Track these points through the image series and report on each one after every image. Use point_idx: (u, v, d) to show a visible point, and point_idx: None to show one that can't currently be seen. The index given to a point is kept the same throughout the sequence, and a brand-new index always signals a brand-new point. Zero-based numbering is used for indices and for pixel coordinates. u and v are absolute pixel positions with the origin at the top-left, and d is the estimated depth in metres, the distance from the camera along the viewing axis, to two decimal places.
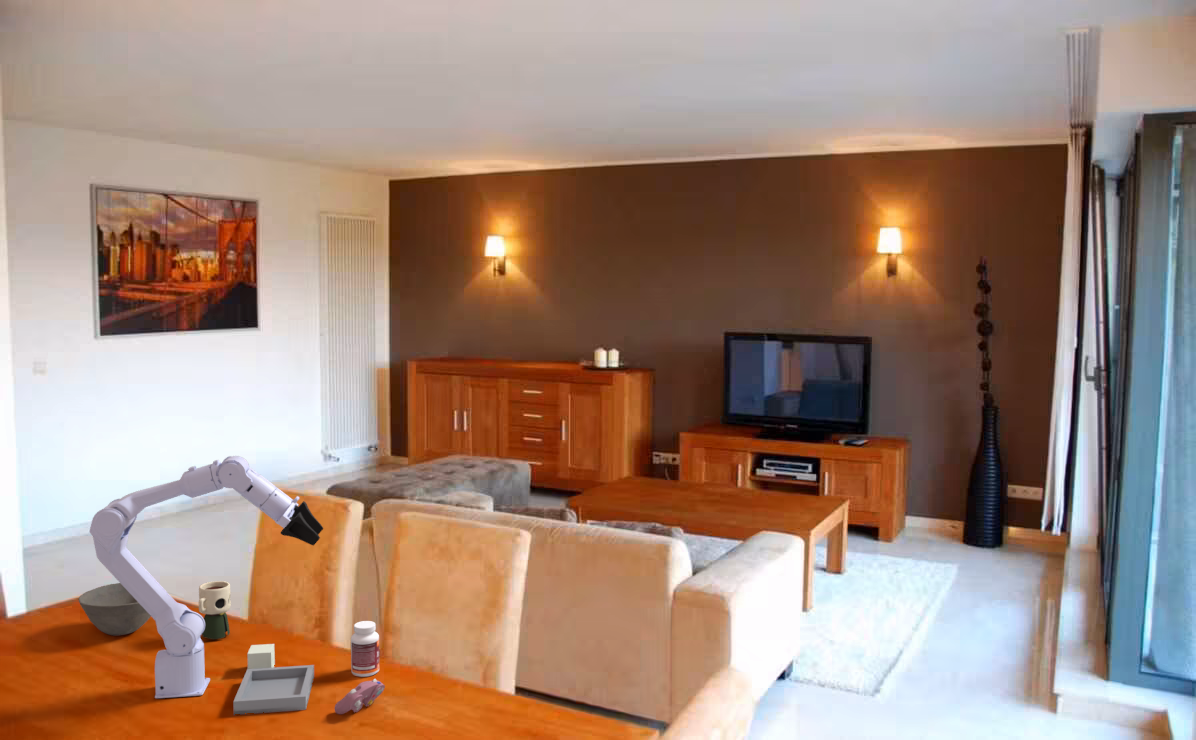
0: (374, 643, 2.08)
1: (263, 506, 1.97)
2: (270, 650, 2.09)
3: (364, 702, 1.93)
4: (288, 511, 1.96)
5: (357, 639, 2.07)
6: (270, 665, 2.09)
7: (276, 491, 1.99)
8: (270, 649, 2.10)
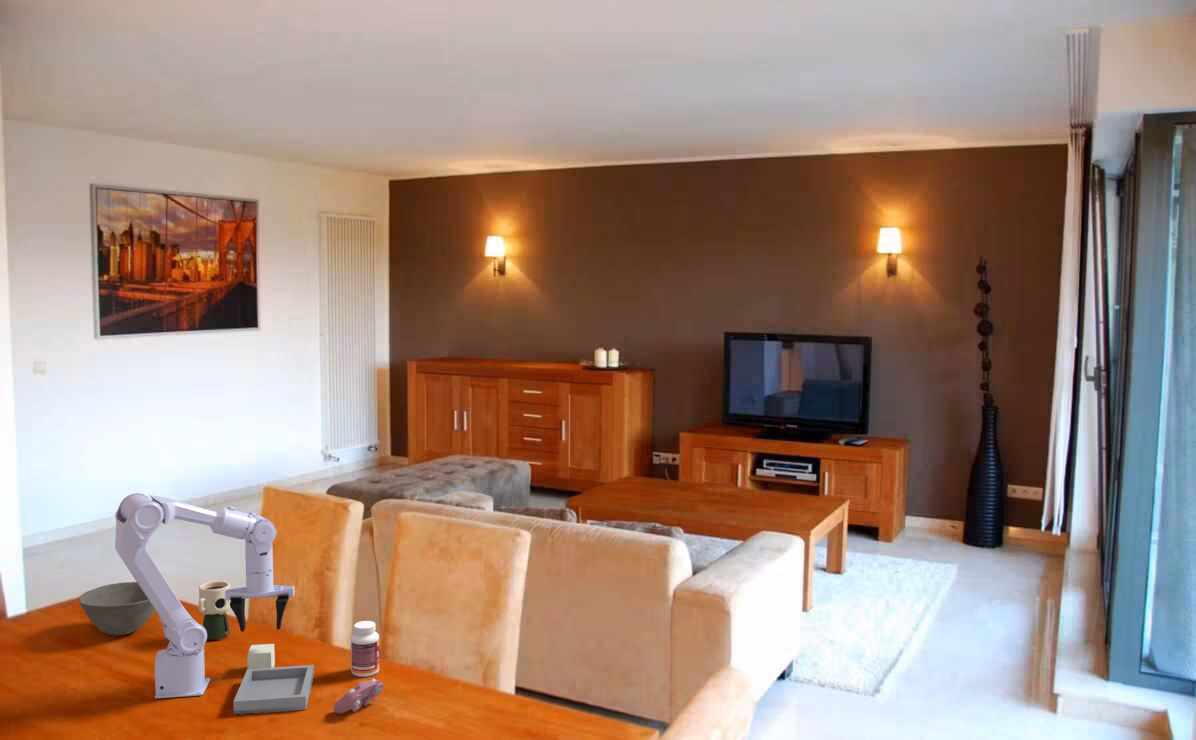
0: (374, 643, 2.08)
1: (270, 572, 2.08)
2: (270, 650, 2.09)
3: (363, 702, 1.93)
4: None
5: (357, 639, 2.07)
6: (270, 665, 2.09)
7: None
8: (270, 649, 2.10)
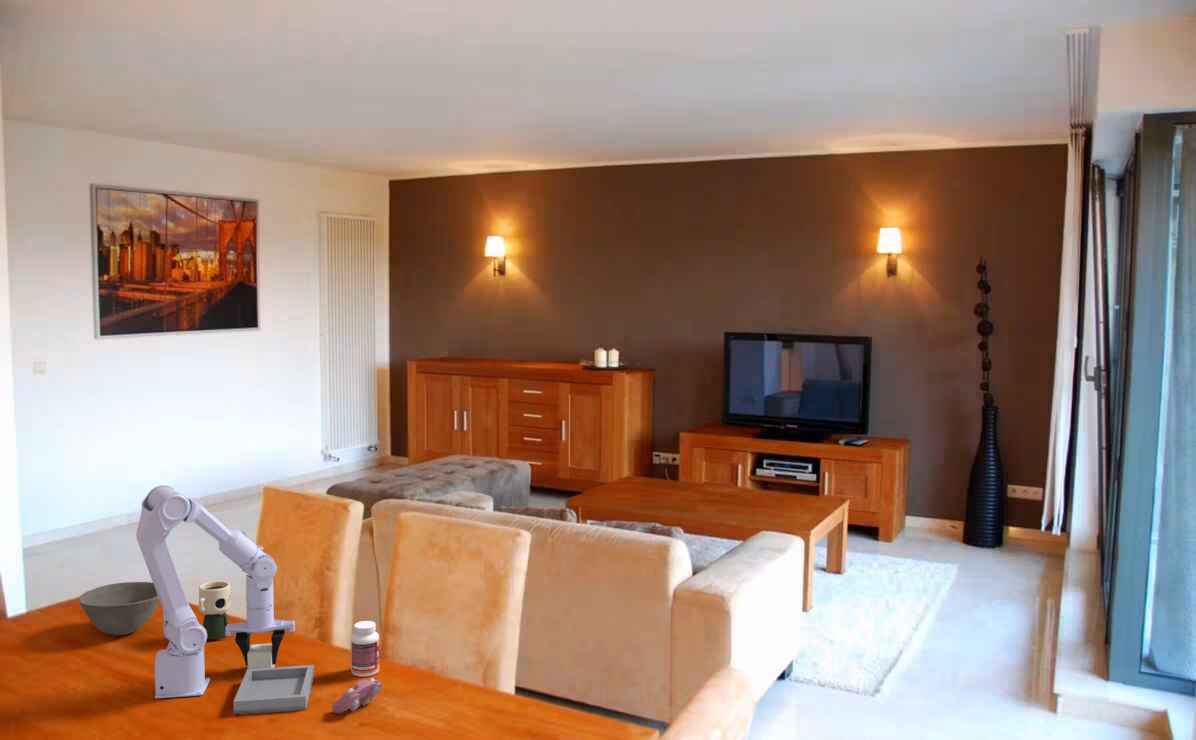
0: (374, 643, 2.08)
1: (271, 607, 2.09)
2: (270, 650, 2.09)
3: (362, 701, 1.93)
4: None
5: (357, 639, 2.07)
6: (270, 665, 2.09)
7: None
8: (270, 649, 2.10)
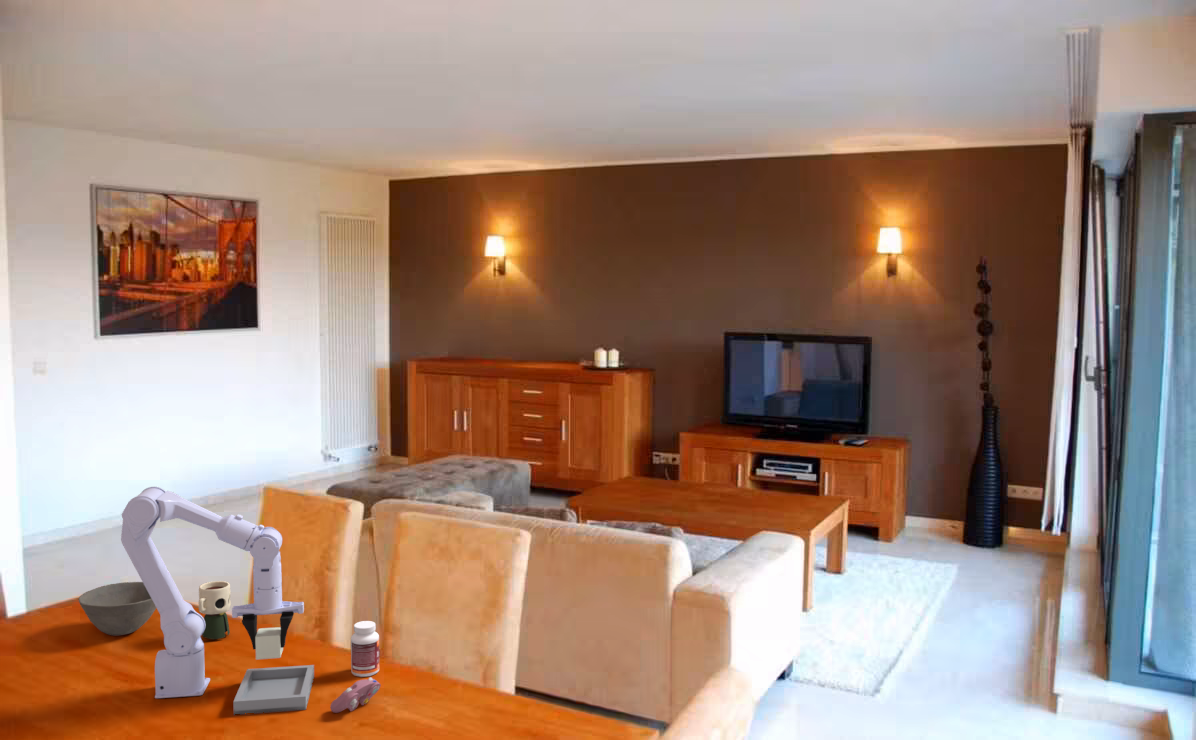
0: (374, 643, 2.08)
1: (279, 588, 2.01)
2: (279, 633, 2.02)
3: (360, 701, 1.93)
4: None
5: (357, 639, 2.07)
6: (279, 648, 2.01)
7: None
8: (279, 632, 2.02)
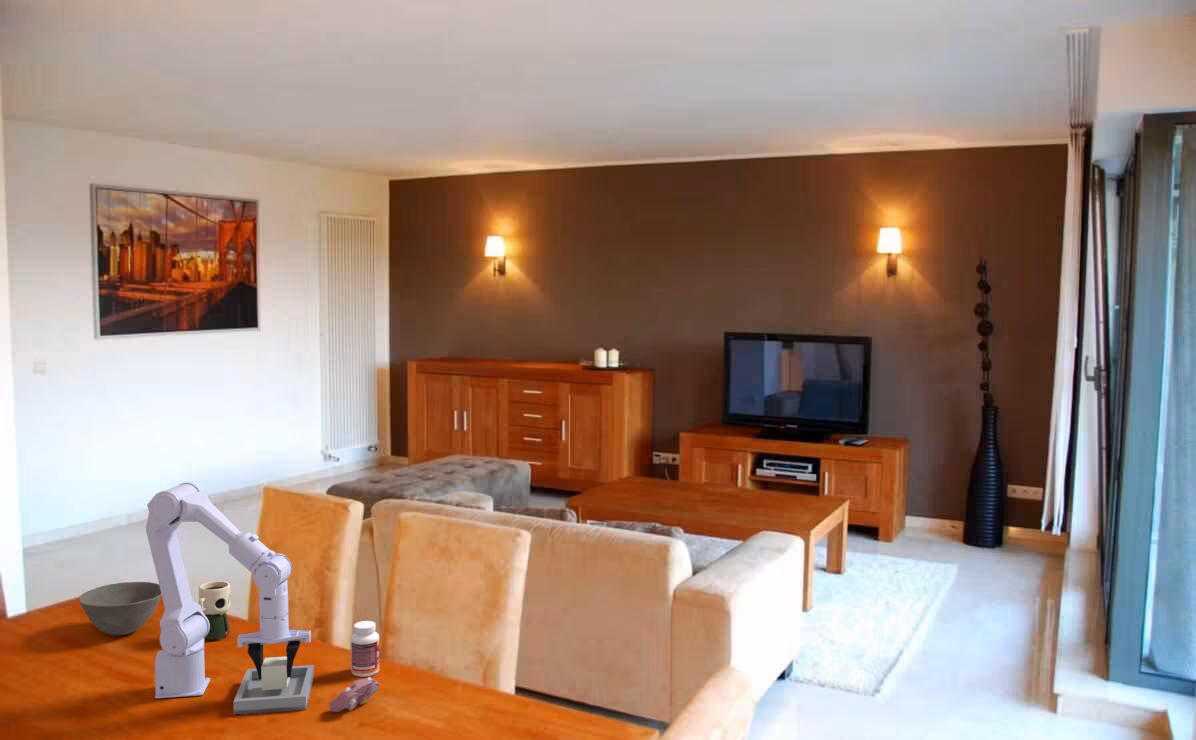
0: (374, 643, 2.08)
1: (285, 617, 1.96)
2: (285, 663, 1.97)
3: (359, 700, 1.94)
4: None
5: (357, 639, 2.07)
6: (285, 679, 1.96)
7: None
8: (285, 662, 1.98)
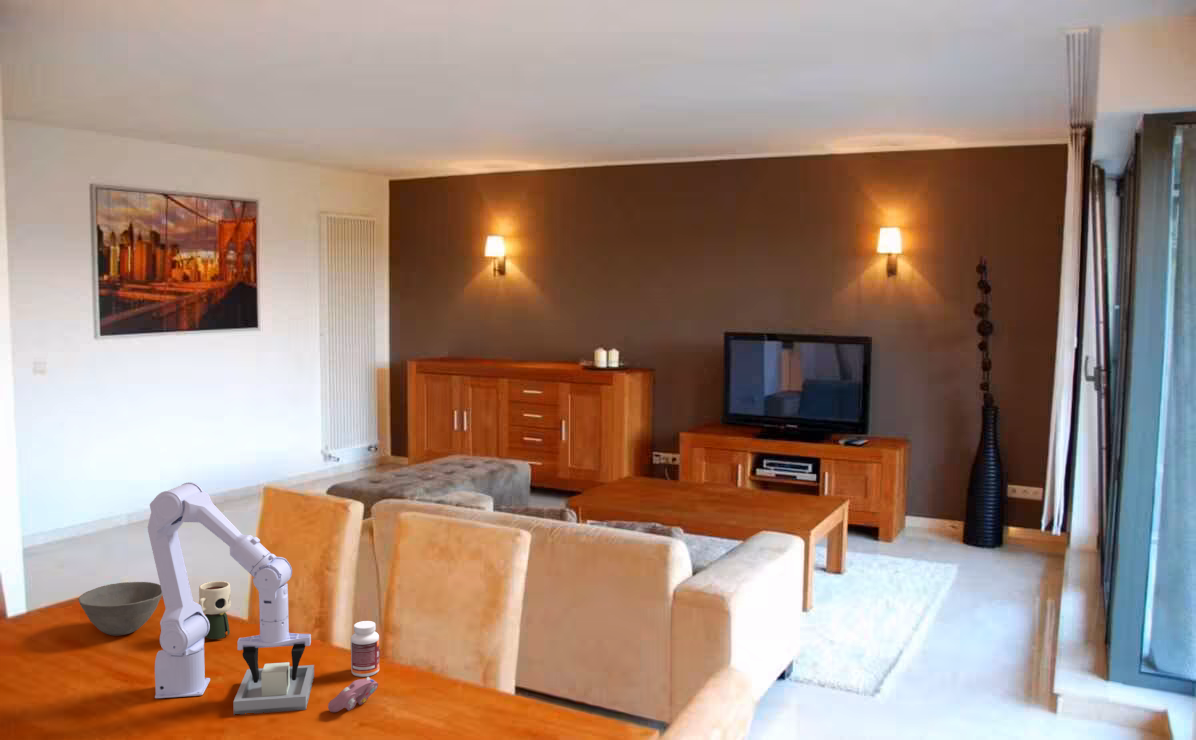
0: (374, 643, 2.08)
1: (285, 620, 1.96)
2: (285, 669, 1.97)
3: (357, 700, 1.94)
4: None
5: (357, 639, 2.07)
6: (285, 685, 1.96)
7: None
8: (285, 668, 1.98)
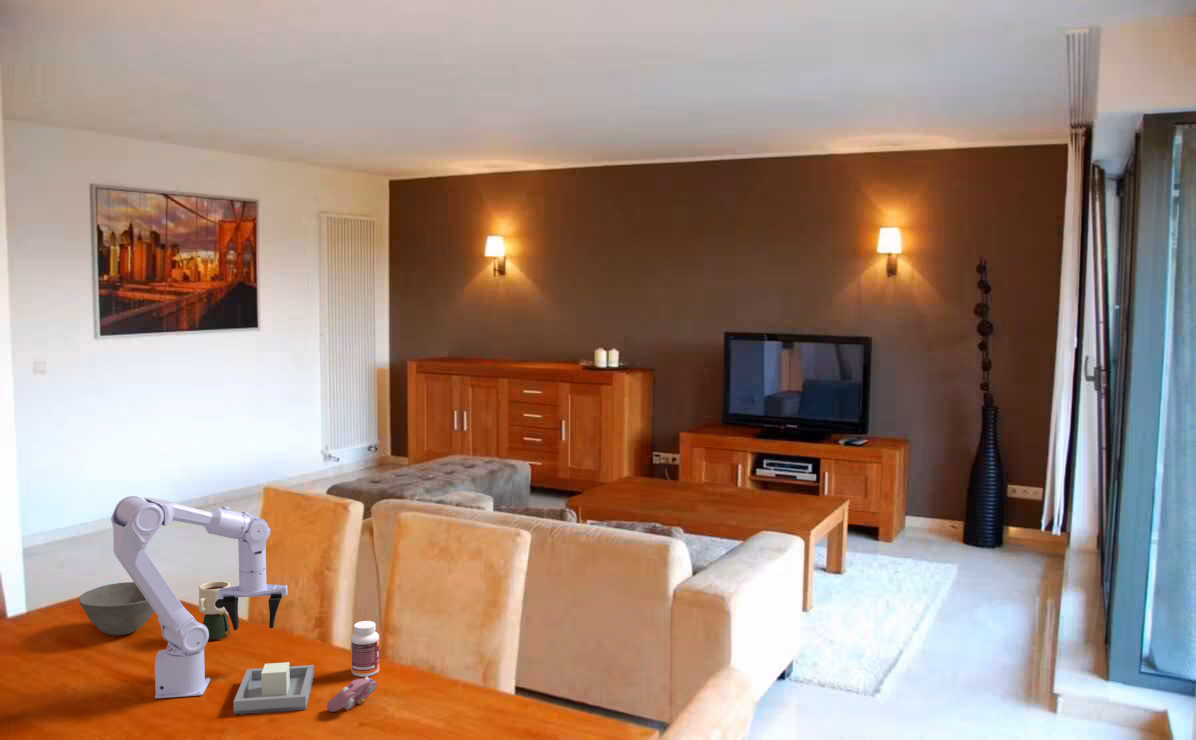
0: (374, 643, 2.08)
1: (263, 571, 2.09)
2: (285, 669, 1.97)
3: (356, 700, 1.94)
4: None
5: (357, 639, 2.07)
6: (285, 685, 1.96)
7: None
8: (285, 668, 1.98)
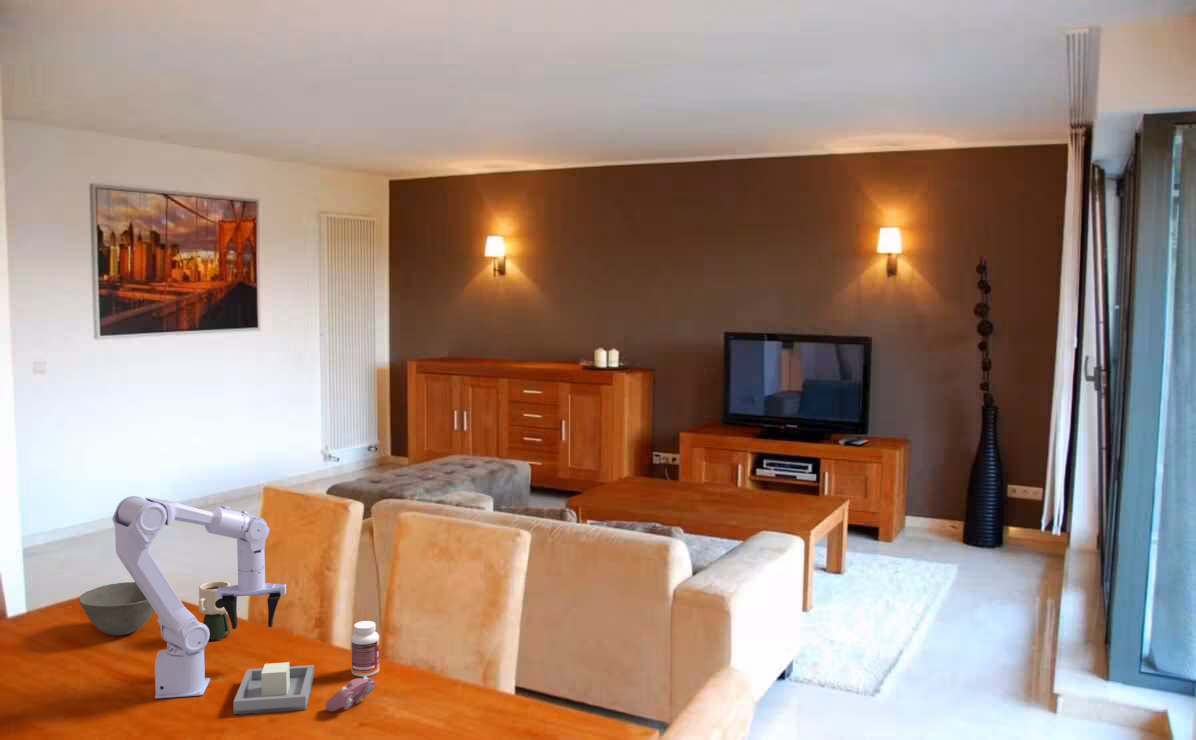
0: (374, 643, 2.08)
1: (262, 570, 2.09)
2: (285, 669, 1.97)
3: (355, 699, 1.94)
4: None
5: (357, 639, 2.07)
6: (285, 685, 1.96)
7: None
8: (285, 668, 1.98)
